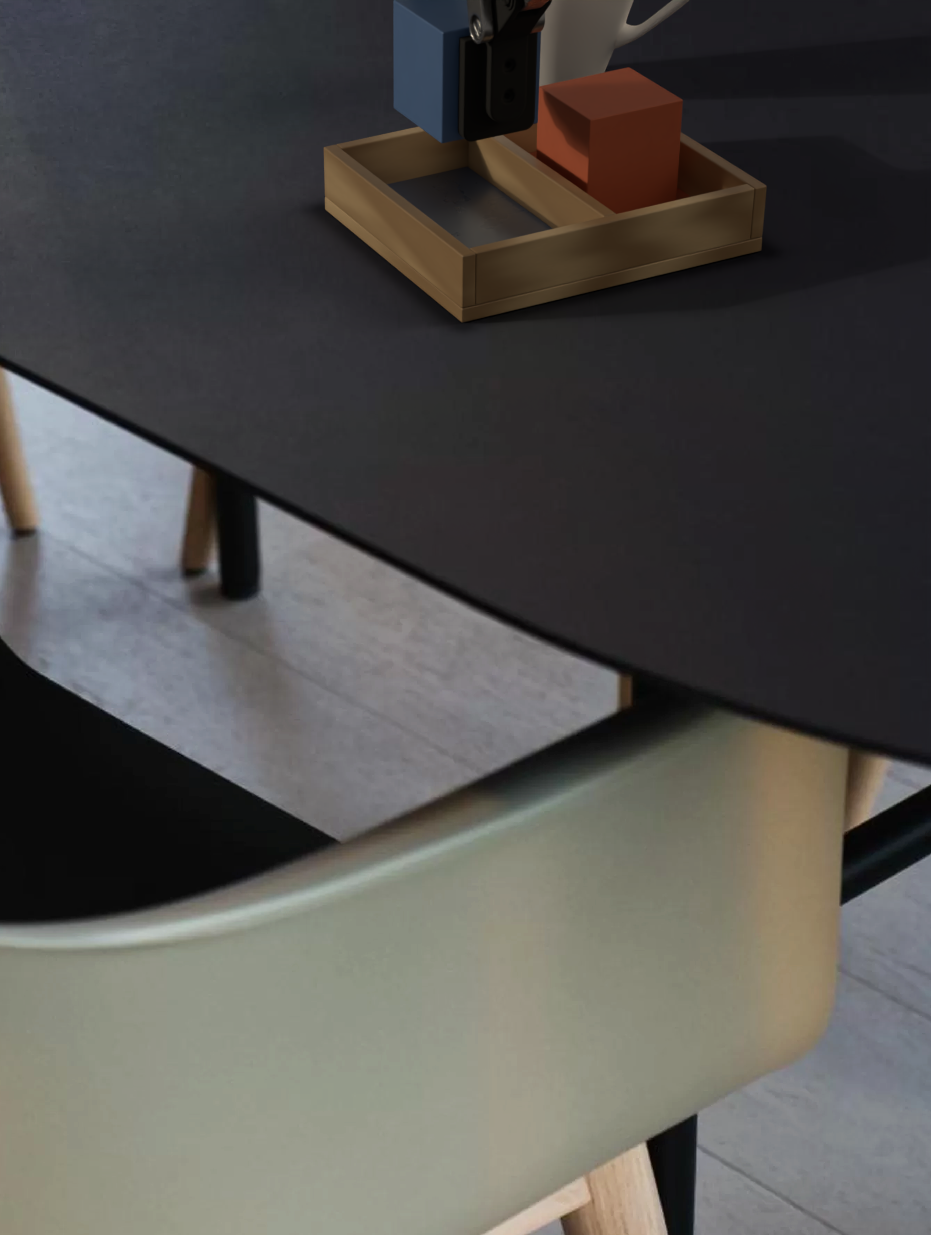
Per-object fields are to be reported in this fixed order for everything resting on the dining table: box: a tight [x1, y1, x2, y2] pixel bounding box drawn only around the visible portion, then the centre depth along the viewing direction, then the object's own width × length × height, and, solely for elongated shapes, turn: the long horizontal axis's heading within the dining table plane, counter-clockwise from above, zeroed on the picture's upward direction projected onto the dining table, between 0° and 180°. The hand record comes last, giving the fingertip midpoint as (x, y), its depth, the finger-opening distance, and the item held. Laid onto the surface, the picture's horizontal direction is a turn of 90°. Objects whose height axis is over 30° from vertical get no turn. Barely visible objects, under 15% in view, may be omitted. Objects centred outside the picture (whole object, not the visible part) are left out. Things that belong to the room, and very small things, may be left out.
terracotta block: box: [536, 66, 684, 214], centre depth 106 cm, size 4×4×4 cm
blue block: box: [392, 0, 541, 143], centre depth 101 cm, size 4×4×4 cm
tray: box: [323, 123, 768, 323], centre depth 106 cm, size 14×13×3 cm
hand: (466, 107), depth 102 cm, fingers closed on blue block, 4 cm apart
